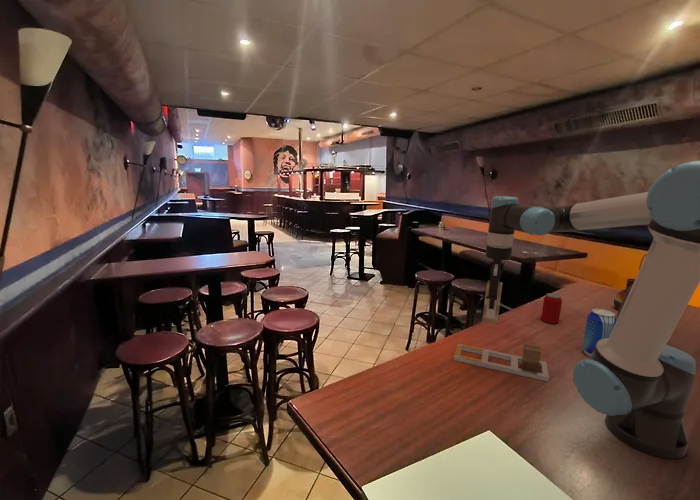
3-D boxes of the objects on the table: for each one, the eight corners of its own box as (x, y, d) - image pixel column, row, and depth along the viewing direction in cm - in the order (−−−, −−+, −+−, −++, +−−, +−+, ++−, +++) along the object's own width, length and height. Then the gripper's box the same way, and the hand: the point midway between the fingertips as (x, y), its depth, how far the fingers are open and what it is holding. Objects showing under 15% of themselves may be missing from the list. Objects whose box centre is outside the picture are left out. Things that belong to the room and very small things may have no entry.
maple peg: (496, 324, 111) (501, 286, 108) (482, 321, 113) (486, 284, 110) (497, 319, 115) (502, 282, 112) (483, 316, 117) (487, 280, 114)
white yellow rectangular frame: (548, 381, 104) (549, 376, 104) (453, 360, 116) (454, 355, 115) (545, 366, 113) (546, 361, 113) (457, 347, 125) (458, 343, 124)
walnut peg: (537, 375, 108) (540, 351, 106) (521, 371, 110) (524, 348, 108) (536, 368, 112) (539, 345, 110) (521, 364, 114) (524, 342, 112)
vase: (648, 315, 158) (654, 283, 155) (623, 314, 158) (630, 283, 155) (629, 306, 169) (635, 276, 166) (606, 306, 169) (612, 276, 166)
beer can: (615, 362, 117) (624, 318, 113) (588, 359, 118) (595, 315, 115) (602, 350, 125) (610, 308, 121) (577, 347, 126) (584, 306, 123)
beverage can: (558, 320, 150) (562, 294, 148) (558, 325, 145) (562, 299, 142) (541, 317, 154) (545, 291, 152) (540, 322, 148) (544, 295, 146)
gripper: (511, 252, 99) (501, 327, 104) (513, 242, 114) (504, 307, 119) (484, 249, 102) (475, 322, 107) (489, 239, 117) (481, 303, 123)
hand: (490, 314), depth 113 cm, fingers closed on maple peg, 5 cm apart
